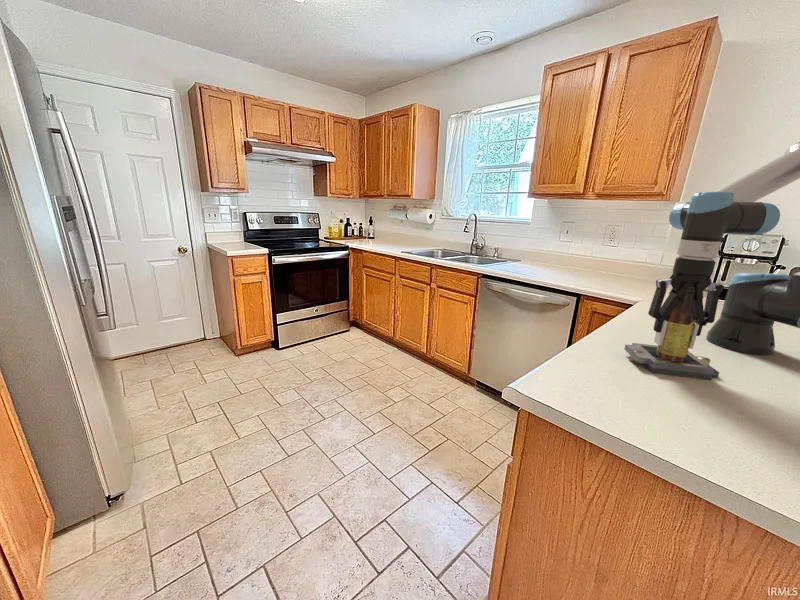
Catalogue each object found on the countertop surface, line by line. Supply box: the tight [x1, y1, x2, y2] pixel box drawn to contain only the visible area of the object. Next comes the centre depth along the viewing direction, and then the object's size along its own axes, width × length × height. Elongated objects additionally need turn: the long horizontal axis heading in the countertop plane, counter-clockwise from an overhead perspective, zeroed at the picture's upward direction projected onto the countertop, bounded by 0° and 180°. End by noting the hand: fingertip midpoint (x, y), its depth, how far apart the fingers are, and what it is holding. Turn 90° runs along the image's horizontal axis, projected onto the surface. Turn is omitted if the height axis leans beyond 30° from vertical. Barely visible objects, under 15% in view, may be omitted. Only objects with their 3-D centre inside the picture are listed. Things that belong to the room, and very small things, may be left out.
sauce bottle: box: [657, 287, 696, 363], centre depth 87 cm, size 6×6×20 cm
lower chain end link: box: [640, 351, 720, 381], centre depth 89 cm, size 16×13×3 cm
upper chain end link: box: [624, 342, 715, 375], centre depth 90 cm, size 16×13×3 cm
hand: (672, 344), depth 88 cm, fingers closed on sauce bottle, 6 cm apart
